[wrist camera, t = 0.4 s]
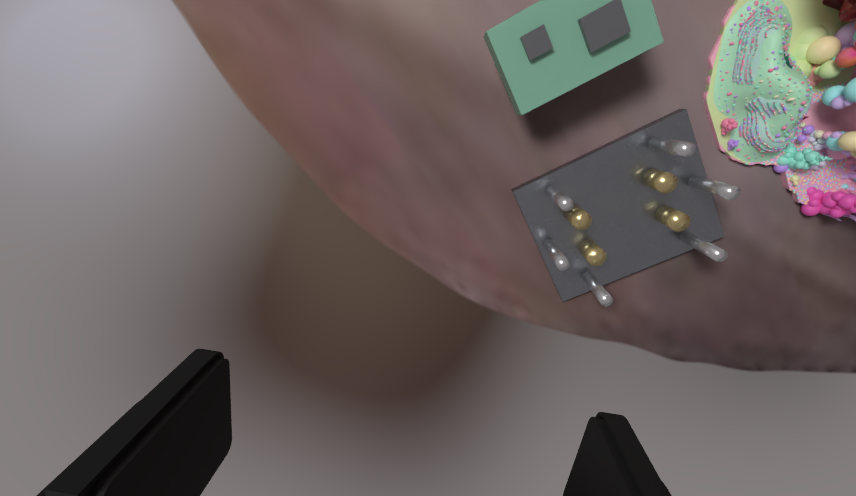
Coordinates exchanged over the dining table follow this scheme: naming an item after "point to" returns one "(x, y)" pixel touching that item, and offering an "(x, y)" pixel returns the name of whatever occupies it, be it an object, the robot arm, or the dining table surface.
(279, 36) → the dining table surface
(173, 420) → the robot arm
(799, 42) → the pastel sphere sculpture
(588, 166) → the chassis
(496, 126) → the dining table surface
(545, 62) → the board
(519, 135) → the dining table surface
